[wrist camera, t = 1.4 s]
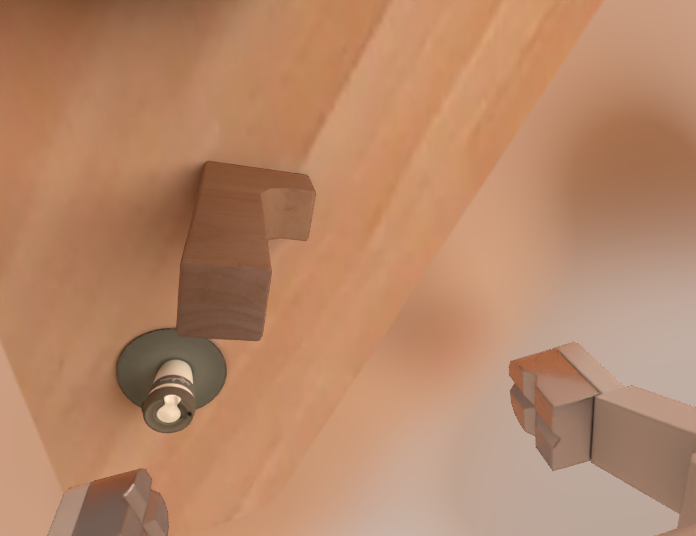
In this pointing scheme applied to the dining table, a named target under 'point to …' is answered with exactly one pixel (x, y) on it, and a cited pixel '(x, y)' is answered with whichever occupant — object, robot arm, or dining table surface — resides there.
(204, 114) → the dining table surface
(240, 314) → the wooden block
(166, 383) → the coffee cup
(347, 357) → the dining table surface
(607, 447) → the robot arm
